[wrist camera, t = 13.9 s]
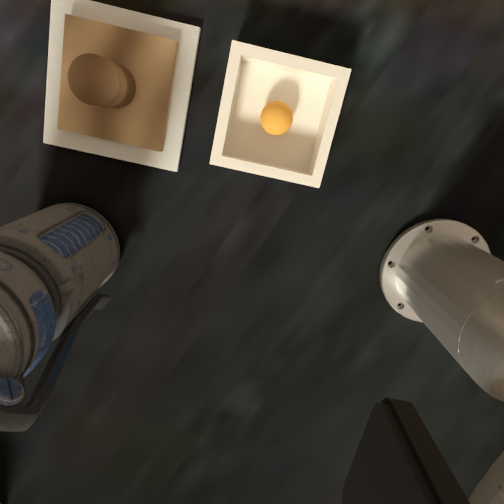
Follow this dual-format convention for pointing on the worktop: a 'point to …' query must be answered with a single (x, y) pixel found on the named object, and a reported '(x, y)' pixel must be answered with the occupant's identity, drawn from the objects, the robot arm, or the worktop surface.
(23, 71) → the worktop surface
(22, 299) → the beverage bottle
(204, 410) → the worktop surface
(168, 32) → the box
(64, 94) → the lid
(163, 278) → the worktop surface
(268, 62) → the dish
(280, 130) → the clementine
